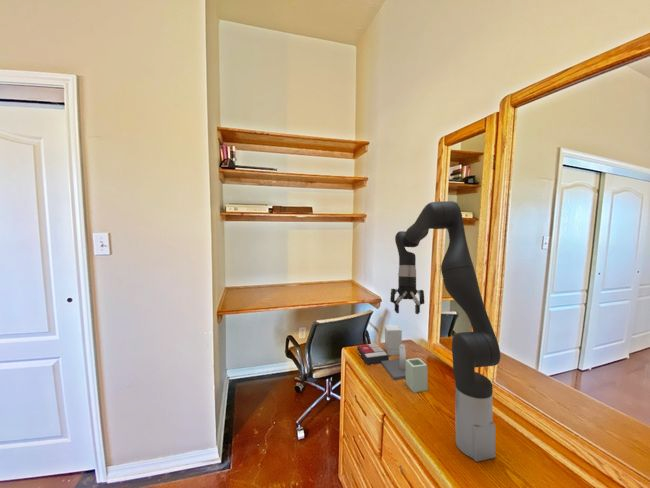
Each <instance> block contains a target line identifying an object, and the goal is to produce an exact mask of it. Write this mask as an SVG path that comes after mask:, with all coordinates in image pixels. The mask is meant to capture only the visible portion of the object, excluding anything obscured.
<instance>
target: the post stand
mask: <svg viewBox="0 0 650 488" xmlns="http://www.w3.org/2000/svg"><path fill="white" fill-rule="evenodd" d="M406 348H407V347H406V345H405V344H403V343H402V344H401V345H400V346H399V350H400V355H399V358H395V359H394V358H393V359H389V360H385V361H381V365H382V367H383V368H384V369H385V371H386V372H387V373H388V375H390V377H391V378H392V379H393V380H394V381H396V380H397V381H398V380H403V379H405V380H406V365H405V360H407V359H409V358H408V357H407V354H406V353H407V351H406V350H407V349H406Z"/></svg>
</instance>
